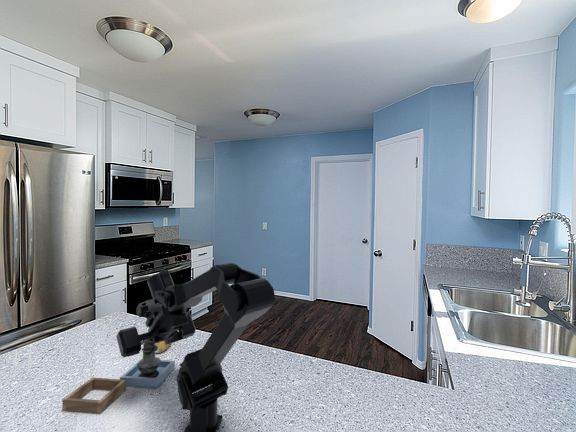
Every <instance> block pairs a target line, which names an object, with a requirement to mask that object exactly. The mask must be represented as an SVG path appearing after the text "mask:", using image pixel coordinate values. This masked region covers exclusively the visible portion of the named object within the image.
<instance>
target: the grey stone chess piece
mask: <svg viewBox="0 0 576 432" xmlns="http://www.w3.org/2000/svg"><path fill="white" fill-rule="evenodd" d="M147 340H148V339H147ZM142 345H143V346H142V347H141V351H142V357H141V359H142V360H141V359H139V360H138V361H137V362H138V363H137V362H136V363H137V366H138V369H139V371H140V372H141V373H140V374H139V376H138V377H147V378H156V377H157V376H158V375H159V371H157V370H156V369H157V368H158V366H159V363H160V361H161V360H162V359H160V357H156V353H155V349H156V346H155V344H154V342H153V341H152V342H149V343H146V344H142Z"/></svg>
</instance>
